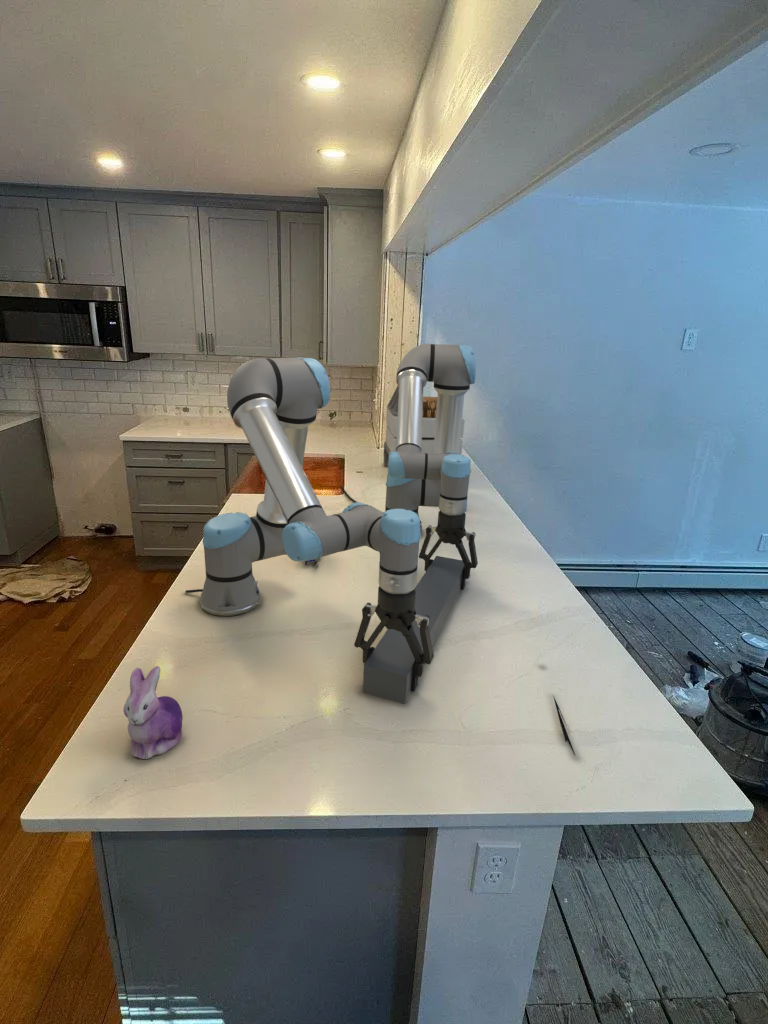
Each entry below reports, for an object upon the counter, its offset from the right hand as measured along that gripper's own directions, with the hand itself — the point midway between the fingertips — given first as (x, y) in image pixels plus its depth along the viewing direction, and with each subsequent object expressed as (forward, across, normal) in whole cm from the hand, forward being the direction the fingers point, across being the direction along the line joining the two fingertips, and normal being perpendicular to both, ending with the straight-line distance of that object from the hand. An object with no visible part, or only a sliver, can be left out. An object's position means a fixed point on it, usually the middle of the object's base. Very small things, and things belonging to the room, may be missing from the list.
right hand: (445, 584), depth 163 cm
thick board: (+1, 0, -24) cm, 24 cm away
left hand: (0, 0, -49) cm, 49 cm away
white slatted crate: (+1, -40, +112) cm, 119 cm away
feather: (+1, +33, -43) cm, 55 cm away
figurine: (+1, -33, -81) cm, 87 cm away
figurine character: (+1, -43, +1) cm, 43 cm away
